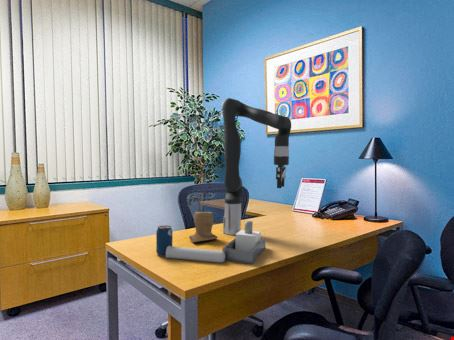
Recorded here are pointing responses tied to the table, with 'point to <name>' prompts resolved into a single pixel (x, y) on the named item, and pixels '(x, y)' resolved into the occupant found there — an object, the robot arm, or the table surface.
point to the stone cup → (203, 227)
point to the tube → (195, 254)
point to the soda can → (163, 239)
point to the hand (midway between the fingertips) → (280, 187)
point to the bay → (243, 252)
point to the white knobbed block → (247, 237)
